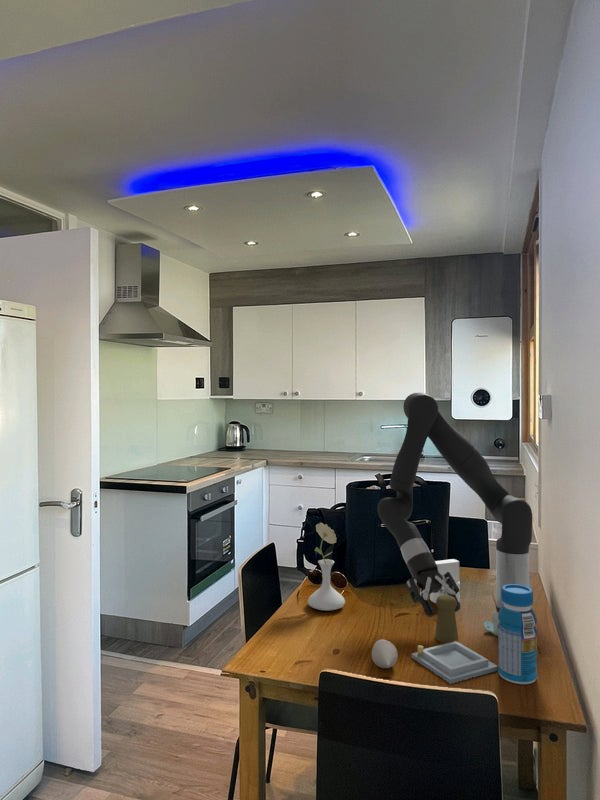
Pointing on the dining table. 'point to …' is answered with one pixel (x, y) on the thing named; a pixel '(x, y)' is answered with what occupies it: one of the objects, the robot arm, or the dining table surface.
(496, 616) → the pacifier
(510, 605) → the beverage bottle
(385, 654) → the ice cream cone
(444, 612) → the cork
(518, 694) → the dining table surface
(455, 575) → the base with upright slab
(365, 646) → the dining table surface
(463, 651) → the board
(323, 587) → the flower in vase
